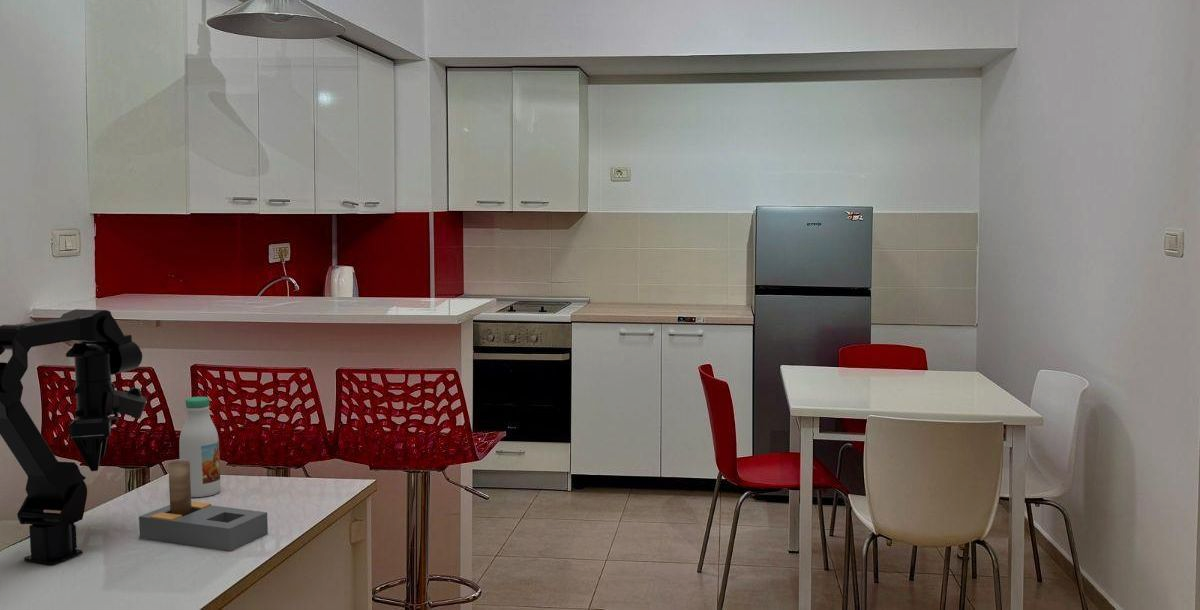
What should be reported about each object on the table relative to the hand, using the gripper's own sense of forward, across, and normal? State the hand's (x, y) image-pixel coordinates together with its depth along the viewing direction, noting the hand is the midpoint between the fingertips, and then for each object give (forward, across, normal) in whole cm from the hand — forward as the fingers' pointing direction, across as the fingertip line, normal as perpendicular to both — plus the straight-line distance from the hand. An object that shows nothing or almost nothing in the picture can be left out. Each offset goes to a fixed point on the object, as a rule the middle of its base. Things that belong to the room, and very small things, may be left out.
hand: (97, 464), depth 185 cm
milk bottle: (+13, +23, -16) cm, 31 cm away
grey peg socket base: (+13, -7, -18) cm, 23 cm away
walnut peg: (+13, -4, -14) cm, 19 cm away
